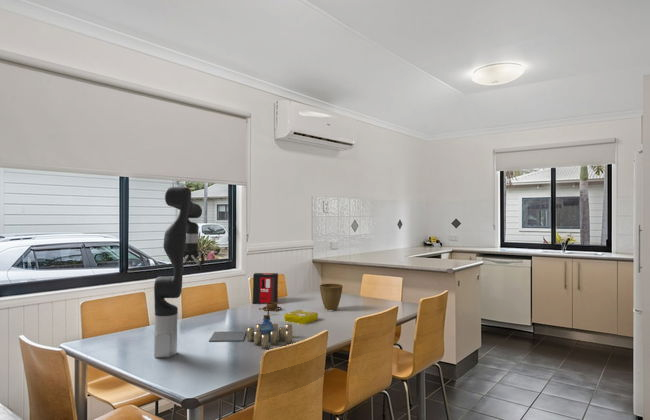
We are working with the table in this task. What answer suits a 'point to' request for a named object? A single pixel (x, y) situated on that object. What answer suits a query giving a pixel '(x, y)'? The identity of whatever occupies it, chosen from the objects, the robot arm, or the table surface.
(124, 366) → the table surface
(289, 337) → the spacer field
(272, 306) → the brown piece
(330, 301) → the plant pot
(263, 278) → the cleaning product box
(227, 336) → the mat
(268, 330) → the perfume bottle
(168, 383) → the table surface
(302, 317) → the element tile
